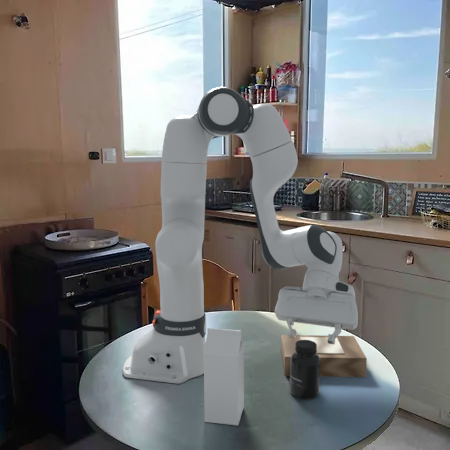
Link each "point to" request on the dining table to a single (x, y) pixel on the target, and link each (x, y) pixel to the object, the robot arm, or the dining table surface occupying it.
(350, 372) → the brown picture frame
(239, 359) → the milk carton
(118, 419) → the dining table surface
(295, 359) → the supplement bottle
